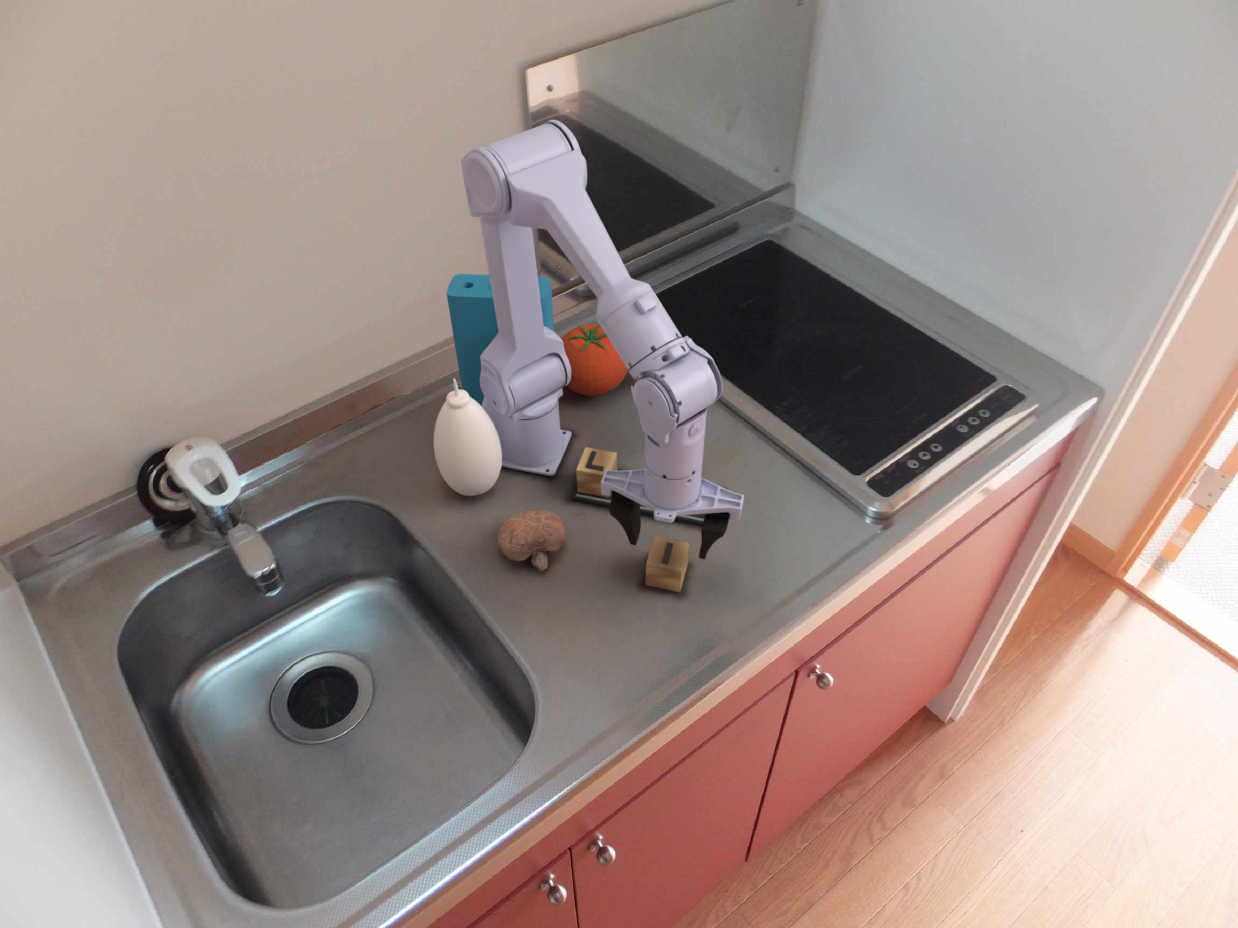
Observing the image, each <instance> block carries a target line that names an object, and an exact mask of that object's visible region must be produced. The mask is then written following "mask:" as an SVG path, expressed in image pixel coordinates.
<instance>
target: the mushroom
mask: <svg viewBox="0 0 1238 928" xmlns="http://www.w3.org/2000/svg"><path fill="white" fill-rule="evenodd" d="M566 537H567V530H566V527H565V524H564V522H563V520H562V518H561V517H560V516H559V515H558V514H556V513H554V512H552V511H549V510H545V509H533V510H523V511H520V512H516V513H514V514H513V515H512V514H511V515H510V516H509V517H507V518H506V519H505V520H504V521H503V522H502V524H501V525H500V527H499V529H498V534H497V544H498V547H499V549H500V551H501V552H502V554H503V555H504V556H506V557H507V559H509V560H512V561H515V562H520V561H525V560H527V559H528V558H529V557H530V561H531V564H532V565H533V567H536V568H537V570H538V571H540V572H541V571H545V570H546V569H548V565H549V562H548V560H549V558H548V557H549V556H548V555H547V552H548V551H549V552H556V551H558V550H559V549H561V548H562V547H563V545H564V543H565V540H566Z"/></svg>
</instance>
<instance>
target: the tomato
mask: <svg viewBox="0 0 1238 928" xmlns="http://www.w3.org/2000/svg"><path fill="white" fill-rule="evenodd" d="M560 338H561V340H562V341H563V345H564V350H565V353H566V356H567V358H568V360H569V363H570V366H571V380H570V383H569V384H568V385H566V386H565V387H566V388H568V389H569V390H570V391H572V392H574V393H575V394H579V395H582V396H590V397H595V396H602V395H605V394H607V393H609V392H611V391H613V390H615V389H616V388H617V387H618V386H620V384H621V383H622V382H623V381H624V379H625V377H626V376H627V373H628V372H629V370H628V369H627V367H626V366H625V364H624V362H623V361H622V359H621V358H620V356H619V354H618V353H617V351H616V350H615V348H614V346H613V345H612V343H611V342H610V340H609V338H608V337H607V335H606V334H605V332H604V331H603V329H602V327H601V326H600V324H599V323H598V324H597V323H596V324H595V323H589V324H581V325H577V326H576V327H573V328H572V329H570V330H568V331H567V332H566V333H565V334H564V335H563V336H562V337H560Z"/></svg>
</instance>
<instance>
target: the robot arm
mask: <svg viewBox="0 0 1238 928" xmlns="http://www.w3.org/2000/svg"><path fill="white" fill-rule="evenodd" d="M460 162H461V171H462V178H463V182H464V183H463V184H464V189H465V194H466V201H467V205H468V209H469V215H471V217H474V218H479V222H480V228H481V235H482V242H483V246H484V252H485V258H486V266H487V271H488V275H489V278H490V284H491V290H492V296H493V302H494V308H495V314H496V320H497V326H498V334H497V335H496V336H495V338H494V339H493V340H492V342H491V343H490V344H489V345H488V347H487V348H486V349H485V350H484V352H483V353H482V354H481V356H480V360H481V373H480V386H481V390H482V392H483V395H484V400H483V403H482V408H483V409H484V410H485V411H486V413H487V414H488V415H489V417H490V419H491V420H492V422H493V424H494V426H495V428H496V431H497V433H498V436H499V440H500V444H501V450H502V465H501V468H507V469H512V470H516V471H522V472H527V473H533V474H537V475H541V476H542V475H543V476H548V477H553V476H555V475H556V473H557V471H558V468H559V466H560V464H561V461H562V459H563V456H564V455H565V452H566V450H567V447H568V445H569V443H570V442H571V441H570V440H571V438H572V437H573V436H572V435H573V434H572V431H569V430H566V429H561V419H560V409H559V408H560V407H559V400H560V398H561V397H562V396H563V395H564V392H563V390H564V389H563V387H567V386H566V385H568V384H569V383H570V380H571V366H570V363H569V360H568V358H567V356H566V353H565V350H564V345H563V341H562V340H561V338H562V337H561V336H559V335H558V334H557V333H556V332H555V330H554V331H552V330H551V329H549V328H548V327H545V326H544V325H543V317H542V309H541V300H540V292H539V284H538V277H539V276H538V267H537V260H536V252H535V243H534V234H533V229H539V230H545V231H547V232H548V234H549V235H550V236H551V237H552V239H553V240H554V242H555V243H556V244H557V246H558V247H559V248H560V250H561V251H562V252H563V254H564V255H565V256H566V258H567V259H568V260H569V262H570V263H571V264H572V266H573V267H574V269H575V270H576V271H577V272H578V274H579V275H580V277H581V278H582V280H583V281H584V282H585V283H586V285H587V286H588V288H589V289H590V290H591V291H592V293H593V294H594V295H595V297H596V298H597V305H596V311H595V313H596V314H595V319H596V321H597V323H598V325H599V324H600V326H601V327H602V329H603V331H604V332H605V334H606V335H607V337H608V338H609V340H610V342H611V343H612V345H613V346H614V348H615V350H616V351H617V353H618V354H619V356H620V358H621V359H622V361H623V362H624V364H625V366H626V367H627V369H628V372H629V374H630V376H631V377H632V378H633V380H634V382H635V383H634V384H633V385H630V391H631V396H632V399H633V402H634V406H635V407H636V409H637V411H638V416H639V425H640V426H641V431H642V432H643V433H644V457H643V458H644V459H643V462H644V463H643V468H641V469H640V468H638V469H637V468H636V469H627V470H626V469H620V470H621V471H618V470H608V469H606V470H605V472H604V475H603V478H602V480H601V495H606V496H611V495H612V497H611V502H610V505H609V508H608V512H609V515H610V516H611V517H612V518H614V519H615V520H616V521H617V522H618V523H619V524H620V526H621V527H622V528H623V530H624V532H625V534H626V537H627V539H628V542H629V544H630V546H637V543H638V540H639V537H640V533H641V527H642V518H641V517H642V516H641V514H640V504H641V505H643V506H645V507H647V508H649V509H651V510H653V511H654V517H653V519H654V520H655V521H657V522H663V523H668V524H672V523H673V522H675V521H674V520H675V517H676V516H681V515H694V514H705V517H704V521H703V525H702V526H701V529H700V533H701V535H700V536H701V544H700V548H699V552H698V559H701V560H706V558H707V554H708V552H709V551H710V549H711V547H712V546H713V545H714V544H715V543H716V542H717V541H718V540H719V539H721V538H723V537H724V535H725V534H726V532H727V530H728V525H729V521H730V520H732V521H737V522H740V520H741V516H742V513H743V507H744V502H745V501H744V500H745V494H742V493H737V492H734V491H731V490H729V489H727V488H724V487H722V486H720V485H718V484H716V483H714V482H712V481H710V480H708V479H706V478H704V477H702V473H703V460H704V451H705V449H704V448H705V438H706V429H707V427H706V426H707V415H708V407H710V406H712V405H713V404H714V403H715V402H716V401H718V400H719V399H720V398H721V397H722V394H723V388H724V387H723V385H724V384H723V379H722V375H721V373H720V370H719V369H718V366H717V364H716V363H715V359H714V358H713V357H712V356H711V355H710V354H709V352H707V350H705V349H704V348H702V347H701V346H699V345H697V344H696V343H695V342H694V341H693V339H692V337H689V336H688V335H686V336H682V334H681V332H680V331H679V329H678V328H677V326H676V325H675V323H674V321H673V320H672V318H671V317H670V315H669V313H668V312H667V311H666V309H665V307H664V306H663V304H662V302H661V300H660V299H659V298H658V296H657V294H656V293H655V291H654V290H653V288H652V287H651V285H650V284H649V283H647V282H644V281H641V280H637V279H635V278H632V277H631V275H630V274H629V273H630V272H629V271H628V270H627V268H626V266H625V264H624V262H623V260H622V258H621V256H620V254H619V252H618V250H617V248H616V246H615V244H614V243H613V241H612V238H611V237H610V235H609V233H608V230H607V229H606V227H605V225H604V223H603V222H602V220H601V217H600V216H599V214H598V212H597V210H596V208H595V206H594V204H593V202H592V200H591V197H590V196H589V195H588V192H587V190H586V189H587V184H588V166H587V160H586V158H585V156H584V155H583V154H582V150H581V147H580V144H579V142H578V140H577V139H576V137H575V135H574V133H573V132H572V131H571V129H569V128H568V126H566V125H565V124H564V123H563V122H561V121H559V120H557V119H549V120H547V121H545V122H543V123H542V124H540V125H538V126H536V127H533V128H530V129H527V130H524V131H522V132H519V133H517V134H514V135H511V136H508V137H506V138H502V139H501V140H498V141H495V142H492V143H489V144H487V145H484V146H477V147H473V148H472V149H471V150H469V151H468V152H467V153H466V154H465V155H464V156H463V157H462V158H461V159H460Z"/></svg>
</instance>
